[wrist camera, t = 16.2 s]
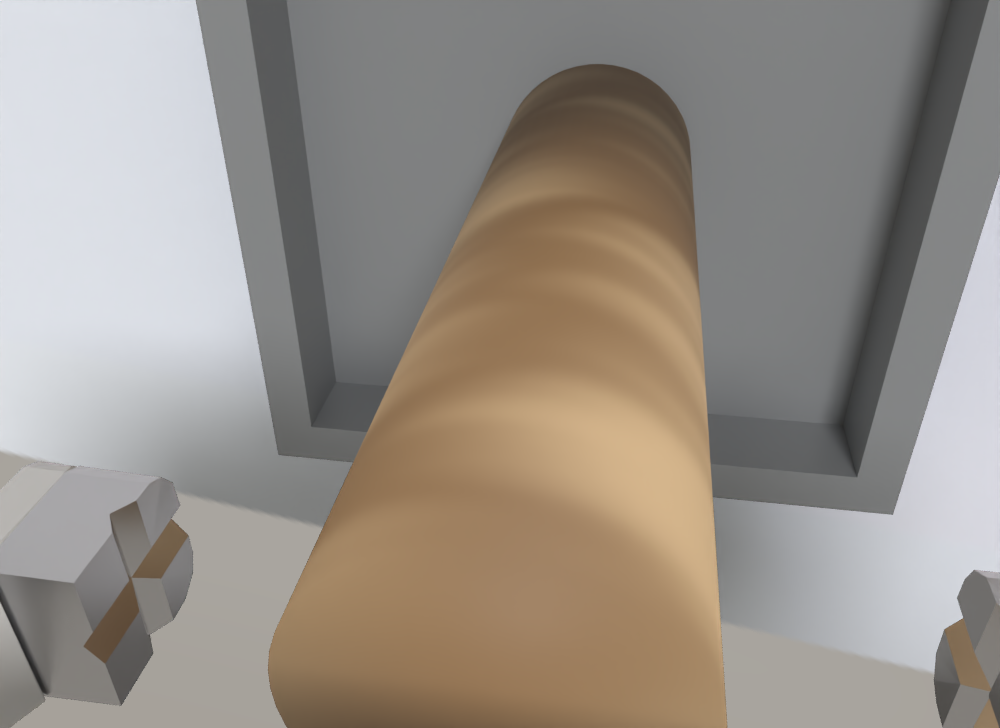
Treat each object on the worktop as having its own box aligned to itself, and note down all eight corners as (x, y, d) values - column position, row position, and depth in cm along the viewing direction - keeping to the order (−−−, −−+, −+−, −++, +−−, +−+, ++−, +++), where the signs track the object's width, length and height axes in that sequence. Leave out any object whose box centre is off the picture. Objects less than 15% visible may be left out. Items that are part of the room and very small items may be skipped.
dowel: (701, 67, 18) (762, 580, 6) (680, 247, 20) (697, 875, 9) (504, 60, 19) (232, 522, 7) (505, 237, 21) (298, 814, 9)
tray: (1063, -267, 15) (1141, -276, 13) (868, 436, 23) (892, 514, 21) (223, -256, 17) (148, -261, 15) (316, 388, 25) (278, 454, 23)
